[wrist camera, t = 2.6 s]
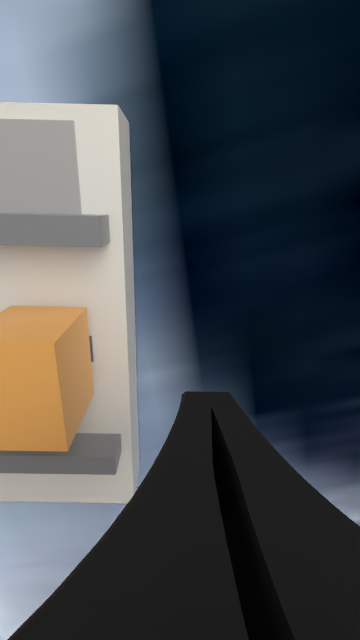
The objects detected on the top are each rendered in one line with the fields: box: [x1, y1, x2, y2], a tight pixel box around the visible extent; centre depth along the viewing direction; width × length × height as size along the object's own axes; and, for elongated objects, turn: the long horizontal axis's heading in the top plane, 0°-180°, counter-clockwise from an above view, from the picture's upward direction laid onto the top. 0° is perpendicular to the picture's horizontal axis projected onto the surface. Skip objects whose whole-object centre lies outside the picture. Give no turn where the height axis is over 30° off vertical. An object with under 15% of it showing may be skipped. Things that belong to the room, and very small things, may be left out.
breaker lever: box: [0, 306, 94, 452], centre depth 12 cm, size 4×3×4 cm
